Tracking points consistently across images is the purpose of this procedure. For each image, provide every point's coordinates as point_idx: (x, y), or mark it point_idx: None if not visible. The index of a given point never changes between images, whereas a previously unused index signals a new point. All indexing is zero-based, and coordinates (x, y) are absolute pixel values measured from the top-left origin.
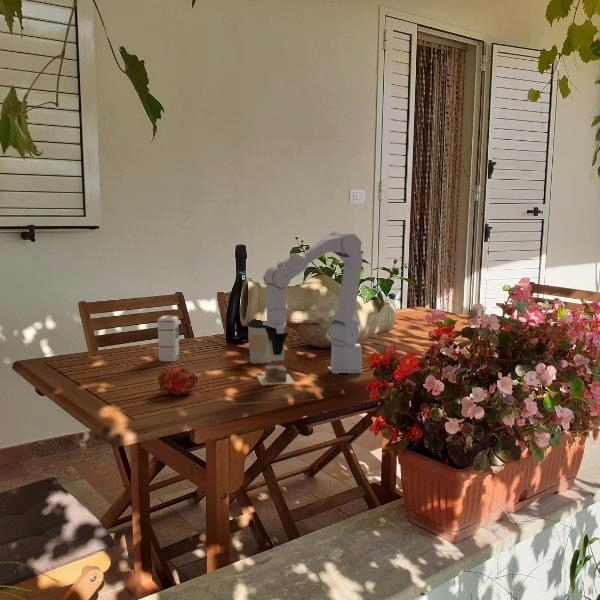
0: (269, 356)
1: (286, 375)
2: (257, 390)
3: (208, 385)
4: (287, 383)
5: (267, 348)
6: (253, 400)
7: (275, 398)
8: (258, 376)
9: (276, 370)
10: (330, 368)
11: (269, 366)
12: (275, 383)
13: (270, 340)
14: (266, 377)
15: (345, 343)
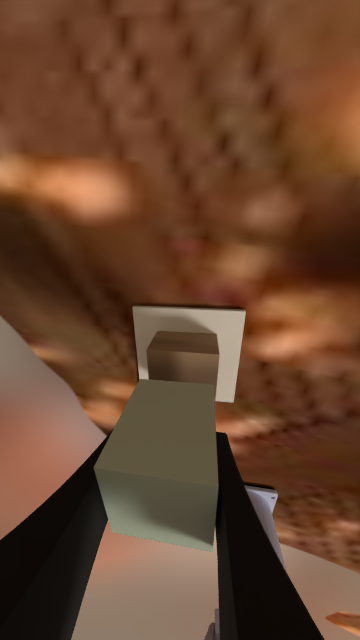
0: (132, 395)
1: (220, 393)
2: (95, 285)
3: (167, 71)
4: (140, 376)
5: (182, 427)
6: (2, 257)
7: (29, 319)
8: (231, 314)
9: (148, 376)
10: (255, 492)
11: (209, 367)
12: (142, 347)
13: (221, 508)
14: (189, 335)
15: (210, 629)
